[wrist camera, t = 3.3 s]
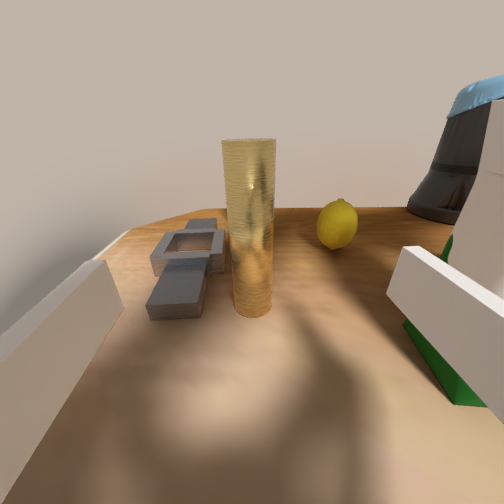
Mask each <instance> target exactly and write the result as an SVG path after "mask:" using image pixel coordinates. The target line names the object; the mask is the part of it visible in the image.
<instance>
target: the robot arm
mask: <svg viewBox="0 0 504 504" xmlns="http://www.w3.org/2000/svg"><path fill="white" fill-rule="evenodd" d="M502 99H504V75H500V76H496V77H492V78H488V79H485V80H481V81H478V82H475V83H472V84H470V85H468V86H466V87H465V88H464V89H462V90H461V91H460V92H459V93H458V95H457V97H456V99H455V101H454V104H453V107H452V108H451V111H450V113H449V115H448V116H447V119H448V120H447V123H446V126H445V128H444V131H443V134H442V137H441V139H440V142H439V145H438V148H437V150H436V153H435V156H434V159H433V162H432V164H431V167H430V170H429V172H428V174H427V175H426V177H425V178H424V180H423V181H422V182H421V184H420V185H419V187H418V188H417V190H416V191H415V193H414V194H412V196H411V197H410V199H409V201H408V204H407V209H408V210H409V211H410V212H412V213H414V214H416V215H418V216H421V217H423V218H427V219H430V220H434V221H438V222H443V223H448V224H456V222H457V220H458V218H459V215H460V213H461V211H462V209H463V207H464V205H465V202H466V200H467V198H468V196H469V194H470V191H471V189H472V187H473V185H474V182H475V179H476V176H477V173H478V168H479V164H480V159H481V154H482V149H483V144H484V139H485V134H486V129H487V124H488V119H489V114H490V109H491V104H492V101H494V100H502ZM386 295H387V296H388V297H389V298H390V299H391V300H392V301H393V303H394V304H395V305H396V306H397V307H398V308H399V309H400V310H401V311H402V313H403V314H404V315H405V316H406V317H407V318H408V319H409V320H410V321H411V322H412V324H413V325H414V326H415V327H416V328H417V329H418V330H419V331H420V332H421V334H422V335H423V336H424V337H425V338H426V339H427V340H428V341H429V342H430V343H431V345H432V346H433V347H434V348H435V349H436V350H437V351H438V352H439V353H440V355H441V356H442V357H443V358H444V359H445V360H446V361H447V362H448V363H449V365H450V366H451V367H452V368H453V369H454V370H455V371H456V372H457V373H458V374H459V376H460V377H461V378H462V379H463V380H464V381H465V382H466V383H467V384H468V386H469V387H470V388H471V389H472V390H473V391H474V392H475V393H476V394H477V395H478V397H479V398H480V399H481V400H482V401H483V402H484V403H485V404H486V405H487V407H488V408H489V409H490V410H491V411H492V412H493V413H494V414H495V415H496V417H497V418H498V419H499V420H500V421H501V422H502V423H503V424H504V300H503V299H501V298H500V297H498V296H497V295H495V294H493V293H492V292H490V291H489V290H487V289H486V288H484V287H483V286H481V285H479V284H478V283H476V282H475V281H473V280H472V279H470V278H468V277H467V276H465V275H464V274H462V273H461V272H459V271H458V270H456V269H454V268H453V267H451V266H450V265H448V264H447V263H445V262H443V261H442V260H440V259H439V258H437V257H436V256H434V255H433V254H431V253H429V252H428V251H426V250H425V249H423V248H422V247H420V246H405V247H402V250H401V253H400V256H399V259H398V261H397V264H396V267H395V270H394V273H393V275H392V278H391V281H390V284H389V287H388V289H387V292H386ZM123 310H124V306H123V303H122V301H121V298H120V296H119V293H118V290H117V288H116V285H115V283H114V280H113V278H112V275H111V273H110V270H109V268H108V265H107V263H106V260H87V261H86V262H85V263H83V264H82V265H81V266H80V267H79V268H77V269H76V270H75V271H74V272H73V273H72V274H71V275H69V276H68V277H67V278H66V279H65V280H64V281H63V282H62V283H60V284H59V285H58V286H57V287H56V288H55V289H53V290H52V291H51V292H50V293H49V294H48V295H47V296H45V297H44V298H43V299H42V300H41V301H40V302H39V303H37V304H36V305H35V306H34V307H33V308H32V309H31V310H29V311H28V312H27V313H26V314H25V315H24V316H23V317H21V318H20V319H19V320H18V321H17V322H16V323H15V324H13V325H12V326H11V327H10V328H9V329H8V330H7V331H5V332H4V333H3V334H2V335H1V336H0V504H2V502H3V501H4V499H5V497H6V496H7V494H8V493H9V491H10V489H11V488H12V486H13V485H14V483H15V481H16V480H17V478H18V477H19V475H20V473H21V472H22V470H23V469H24V467H25V465H26V464H27V462H28V461H29V459H30V458H31V456H32V454H33V453H34V451H35V450H36V448H37V446H38V445H39V443H40V442H41V440H42V438H43V437H44V435H45V434H46V432H47V430H48V429H49V427H50V426H51V424H52V423H53V421H54V419H55V418H56V416H57V415H58V413H59V411H60V410H61V408H62V407H63V405H64V403H65V402H66V400H67V399H68V397H69V395H70V394H71V392H72V391H73V389H74V388H75V386H76V384H77V383H78V381H79V380H80V378H81V376H82V375H83V373H84V372H85V370H86V368H87V367H88V365H89V364H90V362H91V360H92V359H93V357H94V356H95V354H96V353H97V351H98V349H99V348H100V346H101V345H102V343H103V341H104V340H105V338H106V337H107V335H108V333H109V332H110V330H111V329H112V327H113V325H114V324H115V322H116V321H117V319H118V318H119V316H120V314H121V313H122V311H123Z"/></svg>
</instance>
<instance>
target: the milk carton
mask: <svg viewBox="0 0 504 504" xmlns="http://www.w3.org/2000/svg"><path fill="white" fill-rule="evenodd" d="M440 260H442V261H443V262H445V263H447V264H448V265H450V266H451V267H453V268H454V269H456V270H458V271H459V272H461V273H462V274H464V275H465V276H467V277H468V278H470V279H472V280H473V281H475V282H476V283H478V284H479V285H481V286H483V287H484V288H486V289H487V290H489V291H490V292H492V293H493V294H495V295H497V296H498V297H500V298H501V299H503V300H504V99H502V100H494V101H492V104H491V109H490V114H489V119H488V124H487V129H486V134H485V139H484V144H483V149H482V154H481V159H480V164H479V168H478V173H477V176H476V179H475V182H474V185H473V187H472V189H471V191H470V194H469V196H468V198H467V200H466V202H465V205H464V207H463V209H462V211H461V213H460V215H459V218H458V220H457V222H456V224H455V226H454V228H453V231H452V233H451V235H450V237H449V239H448V241H447V243H446V246H445V248H444V250H443V252H442V254H441V256H440ZM403 326H404V327H405V329H406V330H407V332H408V334H409V335H410V337H411V338H412V340H413V341H414V343H415V344H416V346H417V348H418V349H419V351H420V352H421V354H422V355H423V357H424V359H425V360H426V362H427V363H428V365H429V366H430V368H431V369H432V371H433V373H434V374H435V376H436V377H437V379H438V380H439V382H440V384H441V385H442V387H443V388H444V390H445V391H446V393H447V394H448V396H449V398H450V399H451V401H452V402H453V404H454V405H464V406H476V407H487V405H486V404H485V403H484V402H483V401H482V400H481V399H480V398H479V397H478V395H477V394H476V393H475V392H474V391H473V390H472V389H471V388H470V387H469V386H468V384H467V383H466V382H465V381H464V380H463V379H462V378H461V377H460V376H459V374H458V373H457V372H456V371H455V370H454V369H453V368H452V367H451V366H450V365H449V363H448V362H447V361H446V360H445V359H444V358H443V357H442V356H441V355H440V353H439V352H438V351H437V350H436V349H435V348H434V347H433V346H432V345H431V343H430V342H429V341H428V340H427V339H426V338H425V337H424V336H423V335H422V334H421V332H420V331H419V330H418V329H417V328H416V327H415V326H414V325H413V324H412V322H411V321H410V320H409V319H408V318H406V320H405V321H404V323H403Z"/></svg>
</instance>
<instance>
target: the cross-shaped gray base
mask: <svg viewBox="0 0 504 504" xmlns="http://www.w3.org/2000/svg"><path fill="white" fill-rule="evenodd" d="M208 249H211V251H200V252H180V253H178V251H187V250H208ZM225 254H226V239H225V229H224V230H217V219H216V218H211V219H190V220H189V222H188V223H187V225H186V227H185V229H181V230H177V231H176V232H166V233H165V234H164V236H163V237H162V239H161V240H160V242H159V243H158V245H157V246H156V248H155V249H154V251H153V252H152V254H151V255H150V261H151V264H152V267H153V271H154V274H155V276H160V278H159V280H158V282H157V284H156V286H155V288H154V290H153V292H152V294H151V296H150V298H149V300H148V302H147V304H146V305H145V306H146V308H147V311H148V314H149V317H150V320H164V319H181V318H197V317H200V316H201V311H202V306H203V301H204V296H205V290H206V285H207V280H208V277H212V273H224V265H225Z"/></svg>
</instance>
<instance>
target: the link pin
mask: <svg viewBox="0 0 504 504" xmlns="http://www.w3.org/2000/svg"><path fill="white" fill-rule="evenodd" d="M221 142H222V155H223V167H224V179H225V192H226V204H227V216H228V228H229V241H230V253H231V265H232V278H233V290H234V302H235V309H236V311H237V312H238V313H239V314H241V315H242V316H245V317H249V318H257V317H261V316H263V315H265V314H267V313H268V312H269V310H270V309H271V302H272V266H273V230H274V194H275V157H276V139H233V140H222V141H221Z"/></svg>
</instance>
